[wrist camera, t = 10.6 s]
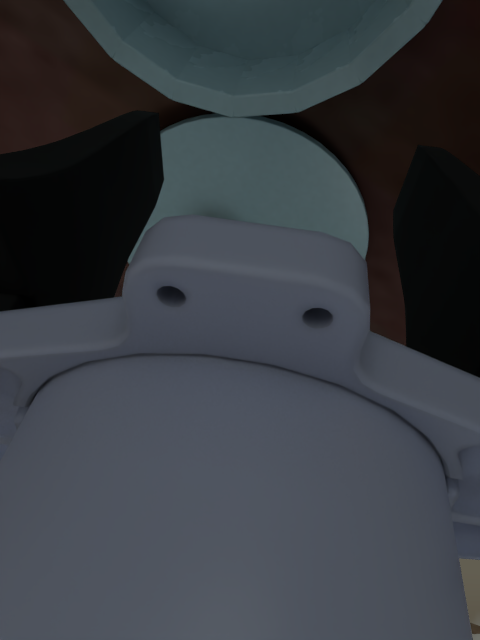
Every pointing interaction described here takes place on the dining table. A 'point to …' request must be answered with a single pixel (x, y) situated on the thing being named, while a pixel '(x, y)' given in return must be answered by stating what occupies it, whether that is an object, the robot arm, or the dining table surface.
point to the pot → (253, 47)
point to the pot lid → (257, 178)
